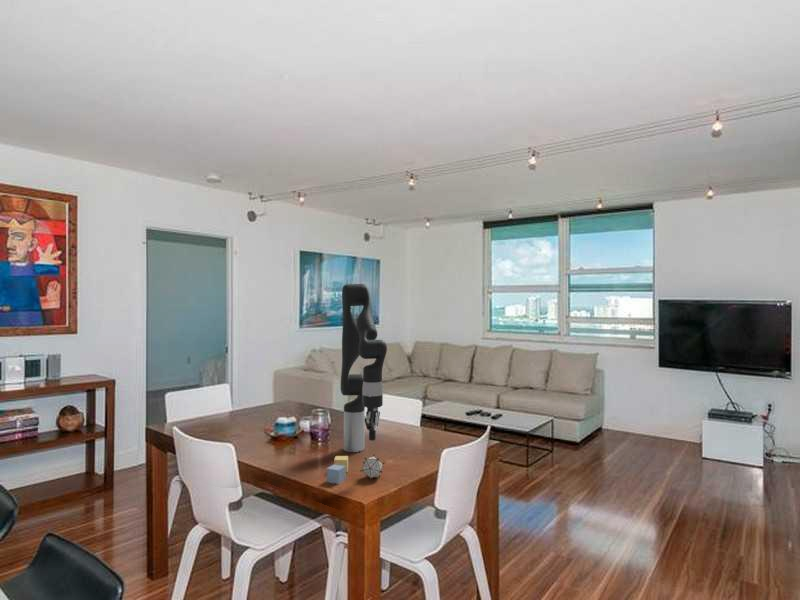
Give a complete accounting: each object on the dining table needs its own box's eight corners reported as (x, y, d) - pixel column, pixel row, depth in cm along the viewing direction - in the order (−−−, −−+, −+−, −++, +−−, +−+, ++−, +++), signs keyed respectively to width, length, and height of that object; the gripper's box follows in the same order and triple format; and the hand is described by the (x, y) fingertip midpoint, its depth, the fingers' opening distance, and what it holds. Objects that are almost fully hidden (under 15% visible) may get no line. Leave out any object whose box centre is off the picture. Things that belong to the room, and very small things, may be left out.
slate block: (333, 477, 183) (333, 464, 183) (345, 479, 181) (345, 466, 181) (326, 482, 179) (326, 468, 179) (338, 484, 177) (338, 470, 177)
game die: (368, 489, 182) (352, 469, 180) (372, 473, 190) (357, 454, 187) (387, 480, 179) (372, 459, 177) (391, 464, 187) (376, 445, 185)
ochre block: (335, 468, 193) (335, 456, 194) (348, 468, 194) (348, 455, 194) (334, 473, 188) (334, 460, 189) (347, 473, 189) (347, 459, 189)
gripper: (367, 389, 191) (367, 434, 191) (357, 396, 178) (357, 444, 178) (386, 390, 189) (386, 435, 189) (377, 397, 176) (377, 445, 176)
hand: (372, 439), depth 184 cm, fingers closed
